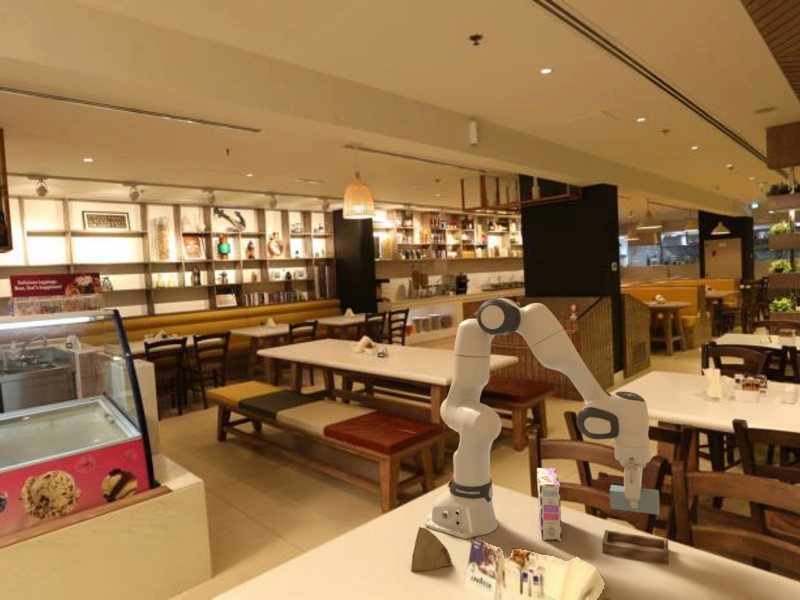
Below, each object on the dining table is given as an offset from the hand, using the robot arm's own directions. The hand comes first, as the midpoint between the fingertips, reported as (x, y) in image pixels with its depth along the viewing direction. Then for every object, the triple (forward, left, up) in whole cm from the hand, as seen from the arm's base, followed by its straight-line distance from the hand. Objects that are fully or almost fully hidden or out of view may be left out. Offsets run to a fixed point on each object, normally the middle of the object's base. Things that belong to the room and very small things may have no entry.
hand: (634, 502), depth 141 cm
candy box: (-24, +4, -14) cm, 28 cm away
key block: (0, 0, -2) cm, 2 cm away
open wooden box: (0, 0, -13) cm, 13 cm away
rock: (-49, -27, -14) cm, 58 cm away
